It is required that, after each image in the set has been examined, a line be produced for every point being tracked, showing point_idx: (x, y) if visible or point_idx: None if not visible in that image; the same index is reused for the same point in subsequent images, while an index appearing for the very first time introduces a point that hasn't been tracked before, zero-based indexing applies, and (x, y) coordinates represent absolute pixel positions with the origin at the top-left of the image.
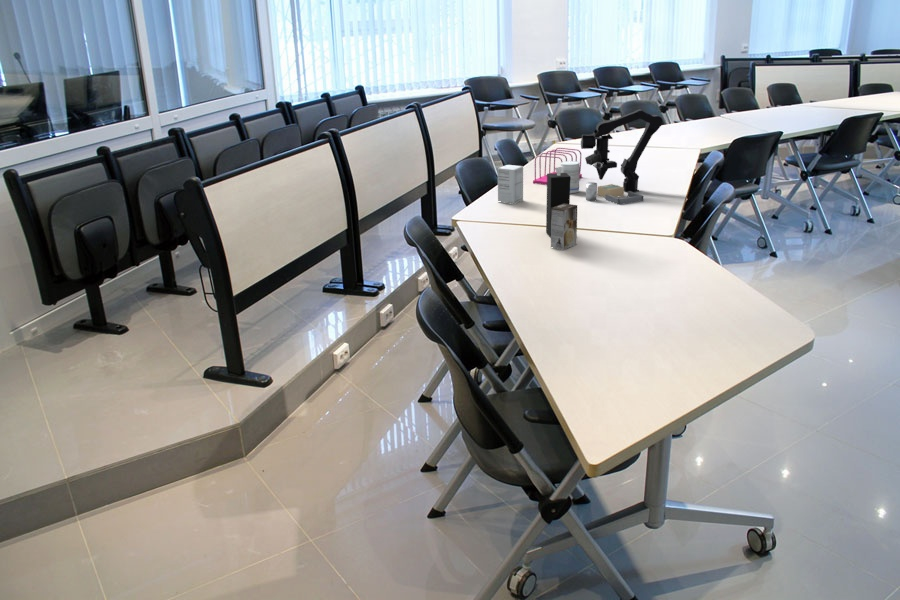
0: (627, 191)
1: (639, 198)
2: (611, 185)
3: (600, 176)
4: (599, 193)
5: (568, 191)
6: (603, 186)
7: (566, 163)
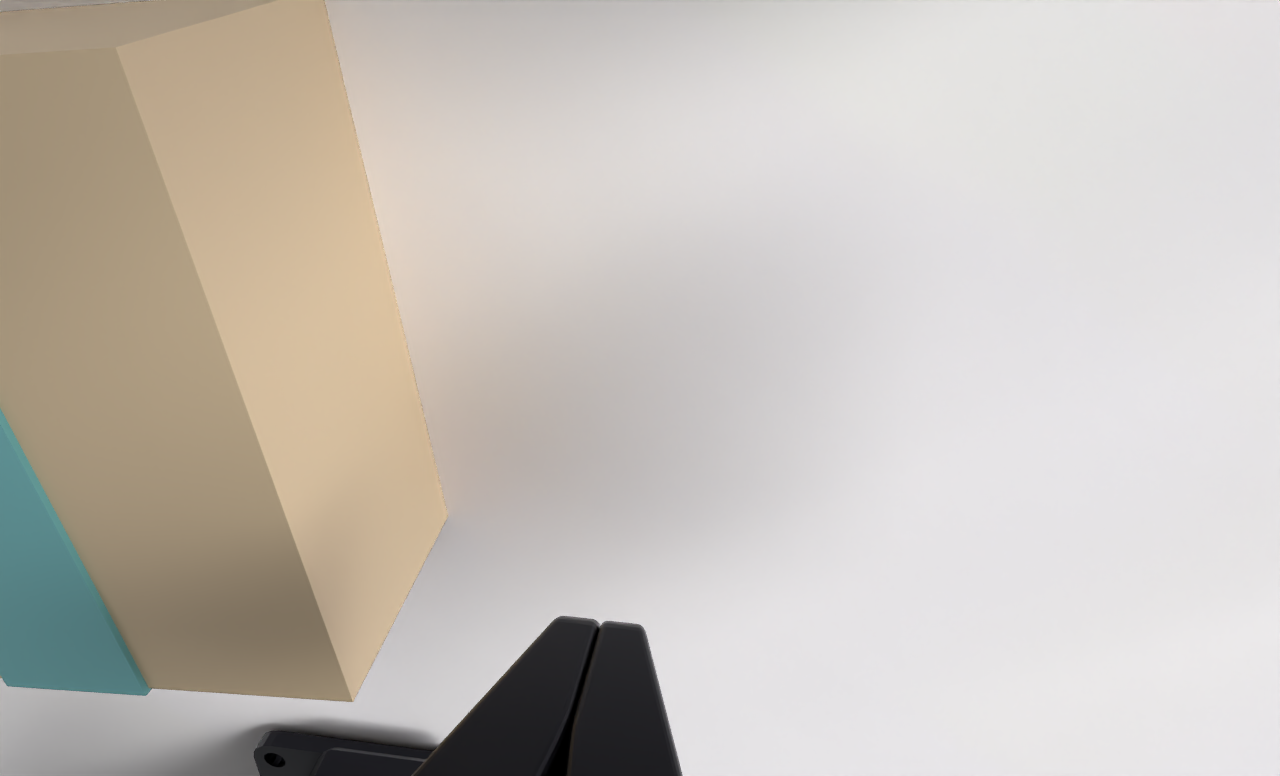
0: (300, 745)
1: None
2: (177, 590)
3: (455, 735)
4: (166, 8)
5: None
6: (66, 278)
7: None
